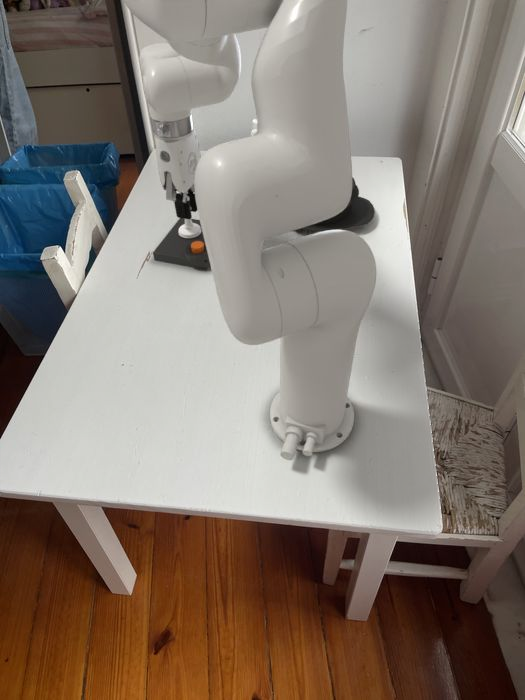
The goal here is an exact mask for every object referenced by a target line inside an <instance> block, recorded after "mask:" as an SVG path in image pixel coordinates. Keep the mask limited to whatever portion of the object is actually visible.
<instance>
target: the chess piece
mask: <svg viewBox="0 0 525 700" xmlns="http://www.w3.org/2000/svg"><path fill="white" fill-rule="evenodd" d="M178 193H179V194H181V192H178ZM186 194H188V191H187V192H186ZM189 199H190V198H189V196H187V201H189ZM190 208H191V206H190ZM191 219H192V218H191ZM191 219H185V224H184V225H182V226H181V227H180V228H179V235H180V236H181V237H183V238H194V237H196V236H198V235H200V233H201V227H200V226H199V225H198V224H196V223H192V220H191Z"/></svg>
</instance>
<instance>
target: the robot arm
mask: <svg viewBox="0 0 525 700" xmlns="http://www.w3.org/2000/svg"><path fill="white" fill-rule="evenodd" d="M123 2H124V4H125V6H127V9H128V10H129V11H130V13H131V14H132V15H133V16H134V17H135V18H137V19H138V20H139V22H141V23H142V24H143V25H146V27H148V28H149V29H150V30H152V31H153V32H155V33H156V34H157V35H159V36H160V37H161V38H163V39H165V40H166V42H159V43H158V42H157V43H152V44H150V45H147V46H145V47H143V48H142V49H141V50H140V53H139V55H138V56H139V66H140V72H141V76H142V89H143V94H144V98H145V101H146V103H147V108H148V111H149V118H150V123H151V127H152V128H151V129H152V134H153V136H154V138H155V150H156V151H155V153H156V161H157V169H158V175H159V180H160V185H161V188H162V189H163V190H164V191H165V199H166V201H172V202H173V203H174V209H175V213H176V217H177V218H178V219H180V218H184V219H193V216H192V212H193V213H196V212H197V214H198V220H200V223H201V228H202V232H203V236H204V240H205V244H206V248H207V253H208V257H209V261H210V270H211V273H212V276H213V282H214V286H215V291H216V294H217V299H218V302H219V303H218V304H219V307H220V309H221V313H222V317H223V319H224V321H225V324H226V326H227V328H228V330H229V332H230V333H231V335H232V336H233V337H234V338H235V339H236V341H238V342H240V343H241V344H244V345H247V346H258V345H262V344H267V343H270V342H273V341H276V340H279V388H280V389H279V391H278V393H277V394H276V395H275V396H274V398H273V399H272V401H271V405H270V408H269V420H270V425H271V427H272V430H273V431H274V433H275V435H276V436H277V438H279V440H281V441H282V442H283V445H282V448H281V451H280V457H281V458H282V459H284V460H287V461H293V460H294V459H295V456H296V453H297V450H298V451H302V455H304V456H305V457H312V456H313V454H314V453H321V452H326V451H329V450H332V449H335V448H336V447H338V446H340V445H341V444H342V443H344V442H345V441H346V440H347V438H348V437H349V436H350V434H351V432H352V430H353V427H354V423H355V409H354V407H353V404H352V402H351V400H350V399H349V397H348V393H349V386H350V382H351V381H350V380H351V376H352V375H351V373H352V368H353V362H354V356H355V352H356V345H357V340H358V335H359V331H360V326H361V323H362V321H363V319H364V316H365V314H366V312H367V310H368V308H369V305H370V303H371V300H372V299H373V295H374V291H375V287H376V284H377V283H376V282H377V264H376V258H375V255H374V253H373V250H372V249H371V247H370V245H369V244H368V243H367V241H366V240H365V239H364V238H363V237H362V236H360V235H359V234H357V233H355V232H353V231H350V230H347V229H336V230H326V231H316V232H314V233H310V234H307V235H304V236H301V237H297V238H294V239H291V240H288V241H284V242H282V243H280V244H277V245H272V246H270V247H267V248H263V244H264V242H265V241H266V240H268V239H271V238H274V237H277V236H280V235H284V234H287V233H290V232H293V231H296V230H300V229H301V228H303V227H306V226H309V225H313V224H316V223H318V222H321V221H324V220H327V219H329V218H331V217H334V216H336V215H337V214H339V213H340V212H342V211H343V210H344V209H345V208H346V207H347V205H348V203H349V201H350V198H351V195H352V177H353V165H352V164H353V163H352V153H351V152H352V151H351V139H350V131H349V129H350V127H349V117H348V105H347V95H346V94H347V93H346V86H345V77H344V76H345V75H344V44H345V43H344V42H345V32H346V21H347V11H348V0H123ZM262 29H266V30H265V33H264V35H263V37H262V39H261V42H260V44H259V48H258V50H257V52H256V55H255V58H254V62H253V66H252V70H251V77H250V78H251V80H250V82H251V83H250V84H251V91H252V99H253V102H254V108H255V114H256V119H257V123H258V128H257V133H256V135H254V136H251V135H250V136H246V137H243V138H238V139H233V140H229V141H225V142H222V143H219V144H217V145H214V146H212V147H210V148H209V149H208V150H206V151H205V152H204V153H203V154H201V149H200V142H199V139H198V136H197V131H196V128H195V123H194V122H195V121H194V117H193V116H194V115H193V109H196V108H201V107H207V106H211V105H212V106H213V105H216V104H217V105H218V104H220V103H223V102H226V100H227V99H229V98H230V97H231V95H232V94H233V93H234V91H235V89H236V87H237V84H238V82H239V80H240V78H241V77H240V76H241V72H242V54H241V47H240V43H239V41H238V38H237V35H236V34H241V33H245V32H252V31H256V30H262ZM187 191H188V194H186V192H187ZM179 192H181V194H179ZM187 196H189V198H190V199H189V201H187ZM190 206H191V208H190Z"/></svg>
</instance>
